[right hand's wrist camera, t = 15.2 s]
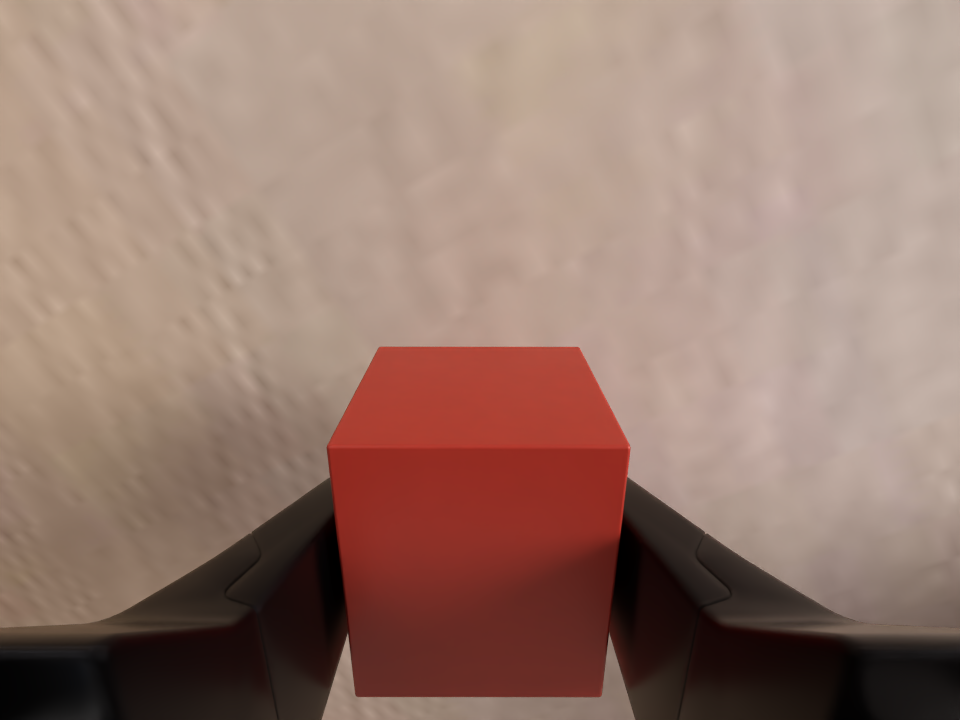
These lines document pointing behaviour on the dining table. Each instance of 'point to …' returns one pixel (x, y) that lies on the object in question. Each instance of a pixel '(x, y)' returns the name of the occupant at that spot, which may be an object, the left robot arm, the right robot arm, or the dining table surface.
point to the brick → (478, 522)
